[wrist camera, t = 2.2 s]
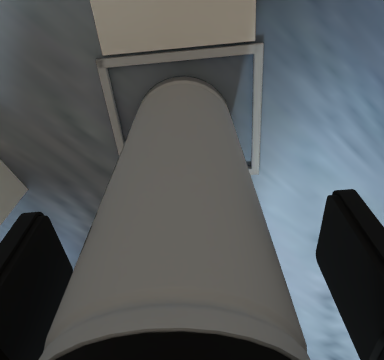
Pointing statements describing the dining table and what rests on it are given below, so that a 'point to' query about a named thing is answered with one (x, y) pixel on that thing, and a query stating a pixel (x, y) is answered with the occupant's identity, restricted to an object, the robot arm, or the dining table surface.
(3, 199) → the die
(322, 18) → the dining table surface
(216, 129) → the travel mug
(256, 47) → the game board
